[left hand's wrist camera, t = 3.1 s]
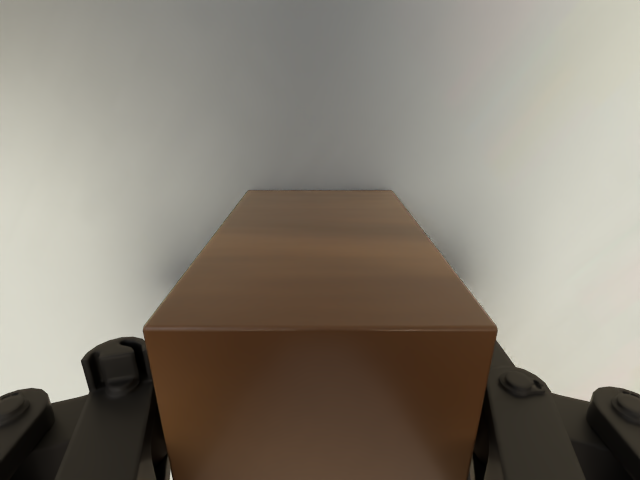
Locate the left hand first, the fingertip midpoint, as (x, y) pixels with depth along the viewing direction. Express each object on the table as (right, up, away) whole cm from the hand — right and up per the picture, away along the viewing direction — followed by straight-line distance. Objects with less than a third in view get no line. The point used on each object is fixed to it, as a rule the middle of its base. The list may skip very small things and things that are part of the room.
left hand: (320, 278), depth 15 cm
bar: (0, -8, +4) cm, 9 cm away
